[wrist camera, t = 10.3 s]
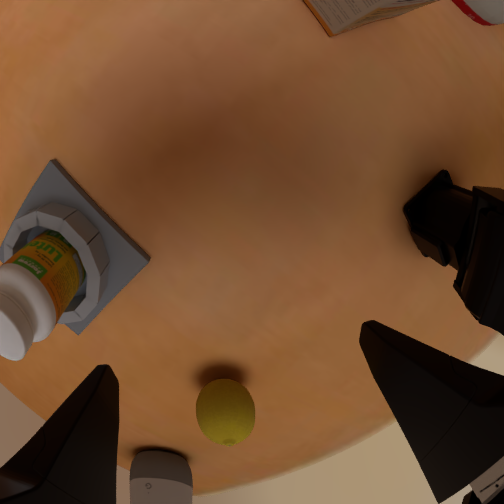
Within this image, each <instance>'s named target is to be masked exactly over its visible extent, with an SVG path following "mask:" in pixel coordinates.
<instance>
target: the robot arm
mask: <svg viewBox="0 0 504 504" xmlns="http://www.w3.org/2000/svg"><path fill="white" fill-rule="evenodd" d="M444 175H445V176H444ZM409 208H410V210H409V211H408V209H409ZM403 211H404V214H405V216H406V218H407V220H408V222H409V225H410V227H411V228H410V231H411V234H412V236H413V238H414V240H415V243H416V245H417V247H418V249H419V250H420V251H421V252H422V255H423V256H425V257H431V258H432V259H433V260H435V261H436V262H438V263H439V264H440V265H442V266H445V267H446V266H447V265H448V264H449V265H450V266H452V267H453V268H455V269H456V270H457V271H458V273H457V276H456V280H454V284H453V287H454V289H455V290H456V292H457V293H458V294H459V296H460V297H461V299H462V300H463V302H464V305H465V306H466V308H467V309H468V310H469V311H470V313H471V314H472V315H473V317H474V318H475V319H476V320H478V322H479V323H480V324H482V325H485V326H488V327H490V328H492V329H494V330H496V331H498V332H500V333H501V334H502V335H504V189H501V188H492V187H480V186H473V189H472V191H470V190H467V189H465V188H462V187H459V186H456V185H454V184H453V183H452V180H451V177H450V174H449V172H448V171H447V170H442V171H441V172H440V173H439V174H438V175H436V176H435V177H434V178H433V179H432V180H431V181H430V182H429V183H428V184H427V185H426V186H425V187H424V188H423V189H422V190H421V191H420V192H419V193H418V194H417V195H416V196H415V197H414V198H413V199H411V200H410V201H409V202H408V203H407V204H406V205H405V206H404V210H403ZM359 343H360V346H361V349H362V351H363V353H364V356H365V358H366V361H367V363H368V365H369V368H370V370H371V373H372V375H373V377H374V379H375V381H376V383H377V385H378V386H379V388H380V390H381V392H382V394H383V396H384V397H385V399H386V401H387V403H388V405H389V407H390V408H391V410H392V412H393V414H394V416H395V418H396V420H397V422H398V423H399V425H400V427H401V429H402V431H403V433H404V435H405V437H406V439H407V440H408V443H409V445H410V447H411V448H412V451H413V453H414V455H415V456H416V459H417V461H418V462H419V465H420V467H421V469H422V471H423V473H424V475H425V477H426V479H427V481H428V483H429V486H430V488H431V490H432V492H433V494H434V496H435V498H436V500H437V502H438V504H440V503H441V502H443V501H445V500H446V499H447V498H449V497H451V496H452V495H454V494H455V493H457V492H458V491H460V490H461V489H463V488H464V487H465V486H467V485H468V484H470V486H471V487H472V489H473V490H472V491H470V492H469V493H468V494H466V495H465V496H464V499H463V502H462V504H504V376H503V375H500V374H497V373H494V372H491V371H488V370H485V369H482V368H479V367H477V366H474V365H471V364H468V363H466V362H464V361H461V360H459V359H457V358H455V357H452V356H449V355H448V354H446V353H444V352H441V351H439V350H437V349H435V348H433V347H431V346H428V345H426V344H424V343H422V342H420V341H418V340H415V339H413V338H411V337H409V336H407V335H405V334H403V333H400V332H398V331H396V330H394V329H392V328H390V327H388V326H385V325H383V324H381V323H379V322H377V321H375V320H370V321H366V322H364V323H363V324H362V327H361V332H360V338H359ZM118 433H119V382H118V379H117V378H116V376H115V374H114V372H113V370H112V369H111V367H110V366H109V365H107V364H104V365H98V366H96V368H95V369H94V370H93V371H92V372H91V373H90V374H89V375H88V376H87V377H86V378H85V379H84V380H83V381H82V383H81V384H80V385H79V386H78V387H77V388H76V389H75V390H74V391H73V392H72V393H71V395H70V396H69V397H68V398H67V399H66V400H65V401H64V402H63V403H62V404H61V406H60V407H59V408H58V409H57V410H56V411H55V412H54V413H53V415H52V416H51V417H50V418H49V419H48V420H47V421H46V422H45V424H44V425H43V426H42V427H41V428H40V429H39V430H38V431H37V433H36V434H35V435H34V436H33V437H32V438H31V439H30V440H29V441H28V442H27V443H26V444H25V445H24V446H23V447H22V448H21V449H20V450H19V451H18V452H17V453H16V454H15V455H14V456H13V457H12V458H11V459H10V460H9V461H8V462H7V463H5V464H4V465H3V466H2V467H1V468H0V504H116V467H117V447H118Z"/></svg>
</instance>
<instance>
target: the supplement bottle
mask: <svg viewBox="0 0 504 504" xmlns="http://www.w3.org/2000/svg"><path fill="white" fill-rule="evenodd" d="M86 275H87V273H86V271H85V268H84V266H83V263H82V261H81V258H80V256H79V253H78V251H77V250H76V249H75V248H74V247H73V246H72V245H71V244H70V243H69V242H68V241H67V240H66V239H65V238H64V237H63V236H62V234H61V233H60V232H57V231H54V230H51V229H49V230H46V231H44V232H42V233H41V234H39V235H38V236H37V237H35V238H34V239H33V240H31V241H30V242H29V243H28V244H26V245H25V246H24V247H23V248H21V249H20V250H19V251H18V252H17V253H15V254H14V255H13V256H12V257H11V258H9V259H8V260H7V261H6V262H5V263H4V264H2V265H1V266H0V355H1V356H3V357H5V358H7V359H10V360H14V361H17V360H21V359H22V358H23V357H24V356H25V354H26V353H27V351H28V349H29V348H30V347H31V345H32V342H39V341H42V340H44V339H45V338H46V337H48V336H49V334H50V333H51V332H52V330H53V329H54V327H55V325H56V324H57V322H58V321H59V319H60V317H61V316H62V314H63V312H64V311H65V309H66V308H67V306H68V305H69V303H70V301H71V300H72V299H73V297H74V295H75V294H76V293H77V291H78V290H79V288H80V287H81V285H82V284H83V282H84V280H85V278H86Z"/></svg>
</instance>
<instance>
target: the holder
mask: <svg viewBox="0 0 504 504" xmlns="http://www.w3.org/2000/svg"><path fill="white" fill-rule="evenodd" d="M49 229H51V230H54V231H57V232H60V233H61V234H62V236H63V237H64V238H65V239H66V240H67V241H68V242H69V243H70V244H71V245H72V246H73V247H74V248H75V249H76V250H77V251H78V253H79V256H80V258H81V261H82V263H83V266H84V268H85V271H86V273H87V275H86V278H85V280H84V282H83V284H82V285H81V287H80V288H79V290H78V291H77V293H76V294H75V295H74V297H73V299H72V300H71V301H70V303H69V305H68V306H67V308H66V309H65V311H64V312H63V314H62V316H61V317H60V319H59V321H58V322H57V323H59V324H60V323H61V324H65V325H66V326H68V327H69V328H70V329H71V330H72V331H74V332H75V333H76V334H77V335H79V334H80V333H81V332H82V331H83V330H84V329H85V328H86V327H87V326H88V325H89V323H90V322H91V321H92V320H93V319H94V318H95V317H96V316H97V315H98V314H99V313H100V312H101V311H102V309H103V308H104V307H105V306H106V305H107V304H108V303H109V302H110V301H111V300H112V299H113V298H114V297H115V296H116V295H117V294H118V293H119V292H120V291H121V290H122V289H123V288H124V287H125V286H126V285H127V284H128V283H129V282H130V281H131V280H132V279H133V278H134V277H135V276H136V275H137V274H138V273H139V272H140V271H141V270H142V269H143V268H144V267H145V266H146V265H147V264H148V263H149V261H150V257H149V256H148V255H147V254H146V253H145V252H144V251H143V250H142V249H141V248H140V247H139V246H138V245H137V244H136V243H135V242H134V241H132V240H131V239H130V238H129V237H128V236H127V235H126V234H125V233H124V232H123V231H122V230H121V229H120V228H119V227H118V226H117V225H116V224H115V223H114V222H113V221H112V220H111V219H110V218H109V217H108V216H107V215H106V214H105V213H104V212H103V211H102V210H101V209H100V208H99V206H98V205H97V204H96V203H95V202H94V201H93V200H92V199H91V198H90V197H89V196H88V195H87V194H86V193H85V192H84V191H83V190H82V189H81V187H80V186H79V185H78V184H77V183H76V182H75V181H74V180H73V179H72V178H71V177H70V175H69V174H68V173H67V172H66V171H65V170H64V169H63V168H62V166H61V165H60V164H59V163H58V162H57V161H56V160H55V159H54V160H50V161H49V163H48V164H47V166H46V167H45V169H44V170H43V172H42V173H41V175H40V176H39V178H38V179H37V181H36V182H35V184H34V186H33V187H32V189H31V190H30V192H29V194H28V195H27V197H26V199H25V201H24V202H23V204H22V206H21V208H20V209H19V211H18V213H17V215H16V217H15V219H14V221H13V222H12V224H11V226H10V228H9V230H8V232H7V234H6V237H5V239H4V241H3V243H2V245H1V247H0V260H1V261H2V263H3V264H4V263H5V262H6V261H7V260H8V259H9V258H11V257H12V256H13V255H14V254H15V253H17V252H18V251H19V250H20V249H21V248H23V247H24V246H25V245H26V244H28V243H29V242H30V241H31V240H33V239H34V238H35V237H37V236H38V235H39V234H41V233H42V232H44V231H46V230H49Z"/></svg>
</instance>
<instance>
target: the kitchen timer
mask: <svg viewBox="0 0 504 504" xmlns="http://www.w3.org/2000/svg"><path fill="white" fill-rule="evenodd" d="M452 1H453V2H454V3H455V4H456V5H457V6H458V7H459V8H460V9H461V11H462V12H463V13H465V14H466V15H467V16H468V17H470V18H471V19H472V20H473V21H475V22H477V23H479V24H481V25H488V26H490V25H498V24H502V23H504V0H452Z"/></svg>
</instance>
